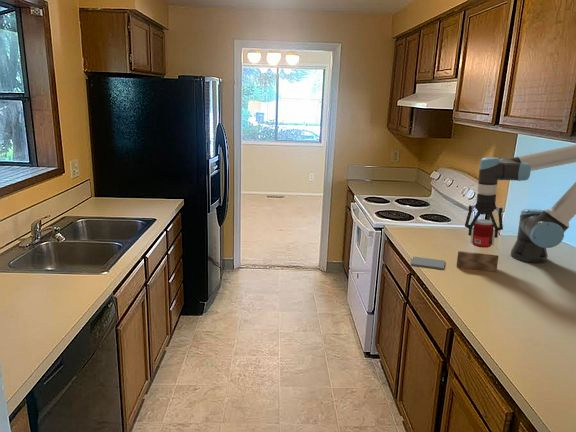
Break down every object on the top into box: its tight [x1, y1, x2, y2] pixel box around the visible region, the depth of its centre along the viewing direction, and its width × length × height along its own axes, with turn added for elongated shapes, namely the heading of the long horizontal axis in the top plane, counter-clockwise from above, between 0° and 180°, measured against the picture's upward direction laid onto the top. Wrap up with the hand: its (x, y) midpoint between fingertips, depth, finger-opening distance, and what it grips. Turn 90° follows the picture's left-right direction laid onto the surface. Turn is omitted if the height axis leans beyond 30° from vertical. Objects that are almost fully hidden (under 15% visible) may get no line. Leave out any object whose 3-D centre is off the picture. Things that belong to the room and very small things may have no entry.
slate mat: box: [410, 256, 446, 270], centre depth 195 cm, size 14×10×1 cm
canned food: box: [471, 218, 495, 249], centre depth 193 cm, size 8×8×11 cm
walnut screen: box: [456, 250, 499, 273], centre depth 188 cm, size 16×2×7 cm, turn 68°
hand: (481, 243), depth 194 cm, fingers closed on canned food, 8 cm apart
